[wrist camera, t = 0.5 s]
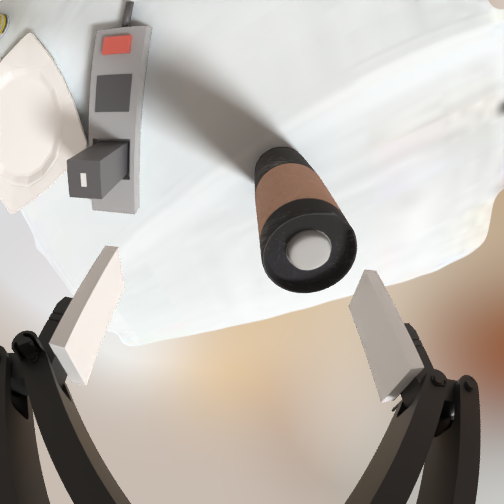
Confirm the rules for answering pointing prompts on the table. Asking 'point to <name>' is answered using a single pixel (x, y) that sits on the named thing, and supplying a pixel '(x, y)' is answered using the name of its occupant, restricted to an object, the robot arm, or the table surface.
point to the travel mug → (300, 225)
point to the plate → (34, 124)
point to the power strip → (119, 102)
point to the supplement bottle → (3, 24)
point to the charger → (98, 169)
